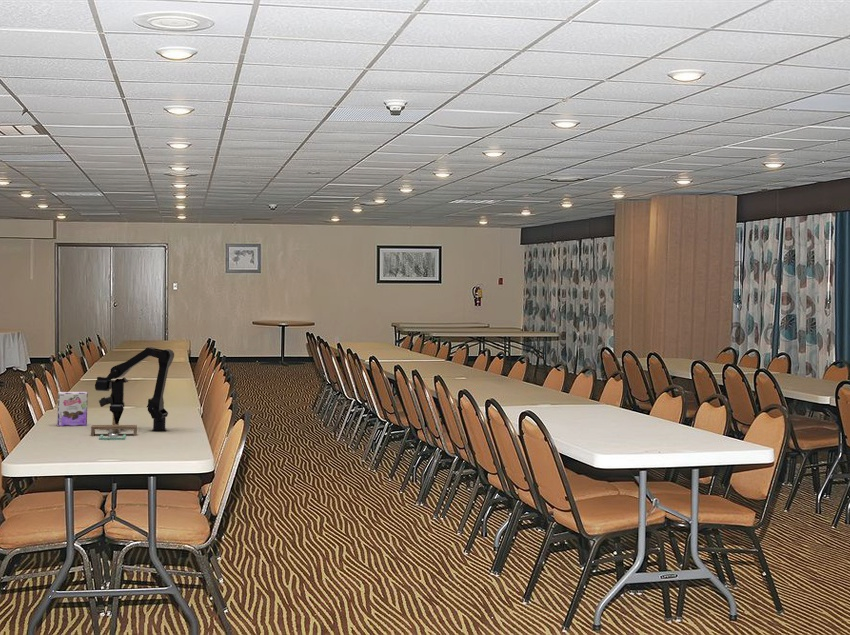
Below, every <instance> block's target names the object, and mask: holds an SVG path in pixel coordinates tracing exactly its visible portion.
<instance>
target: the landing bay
mask: <svg viewBox="0 0 850 635" xmlns="http://www.w3.org/2000/svg"><path fill="white" fill-rule="evenodd" d="M126 437H127V434H123V436H122V437H104V434H100V436H99V438H98V440H99V441H101V440H103V441H107V440H109V441H113V440H114V441H116V440H117V441H118V440H119V441H121V440H123V441H124V440H125V439H126Z"/></svg>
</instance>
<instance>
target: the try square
mask: <svg viewBox="0 0 850 635" xmlns="http://www.w3.org/2000/svg"><path fill="white" fill-rule="evenodd" d="M111 421H112V424H111V425H120V421H119V422H118V424H115V419H114V414H113V413H112V420H111ZM121 430H122V429H108V432H107V435H108V436H109V434H111V433H117V434H118V436H119V435H120V433H121Z"/></svg>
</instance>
